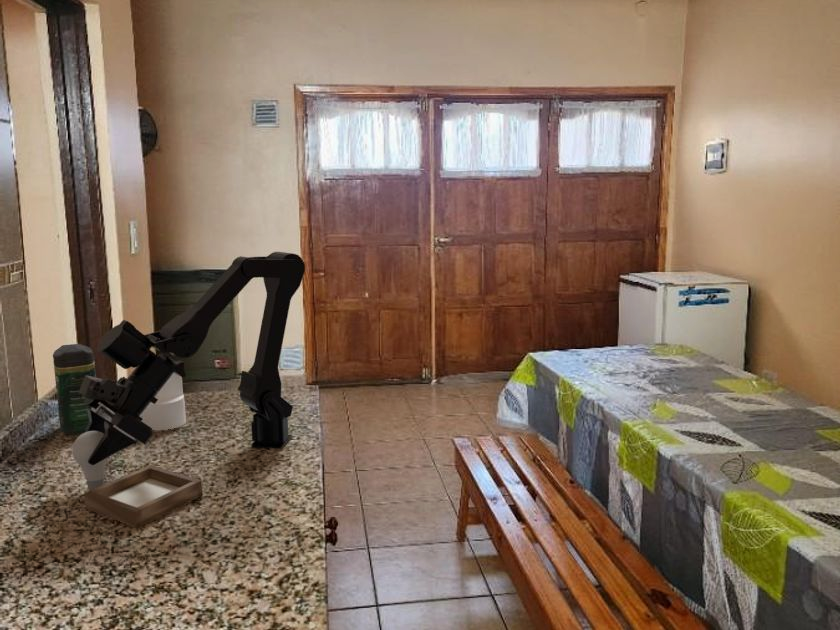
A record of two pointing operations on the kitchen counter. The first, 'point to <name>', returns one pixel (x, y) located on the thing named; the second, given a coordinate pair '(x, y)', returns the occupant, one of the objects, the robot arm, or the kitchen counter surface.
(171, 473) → the walnut tray
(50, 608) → the kitchen counter surface
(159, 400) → the cylinder with rectangular tab
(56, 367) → the coffee jar
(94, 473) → the lightbulb
